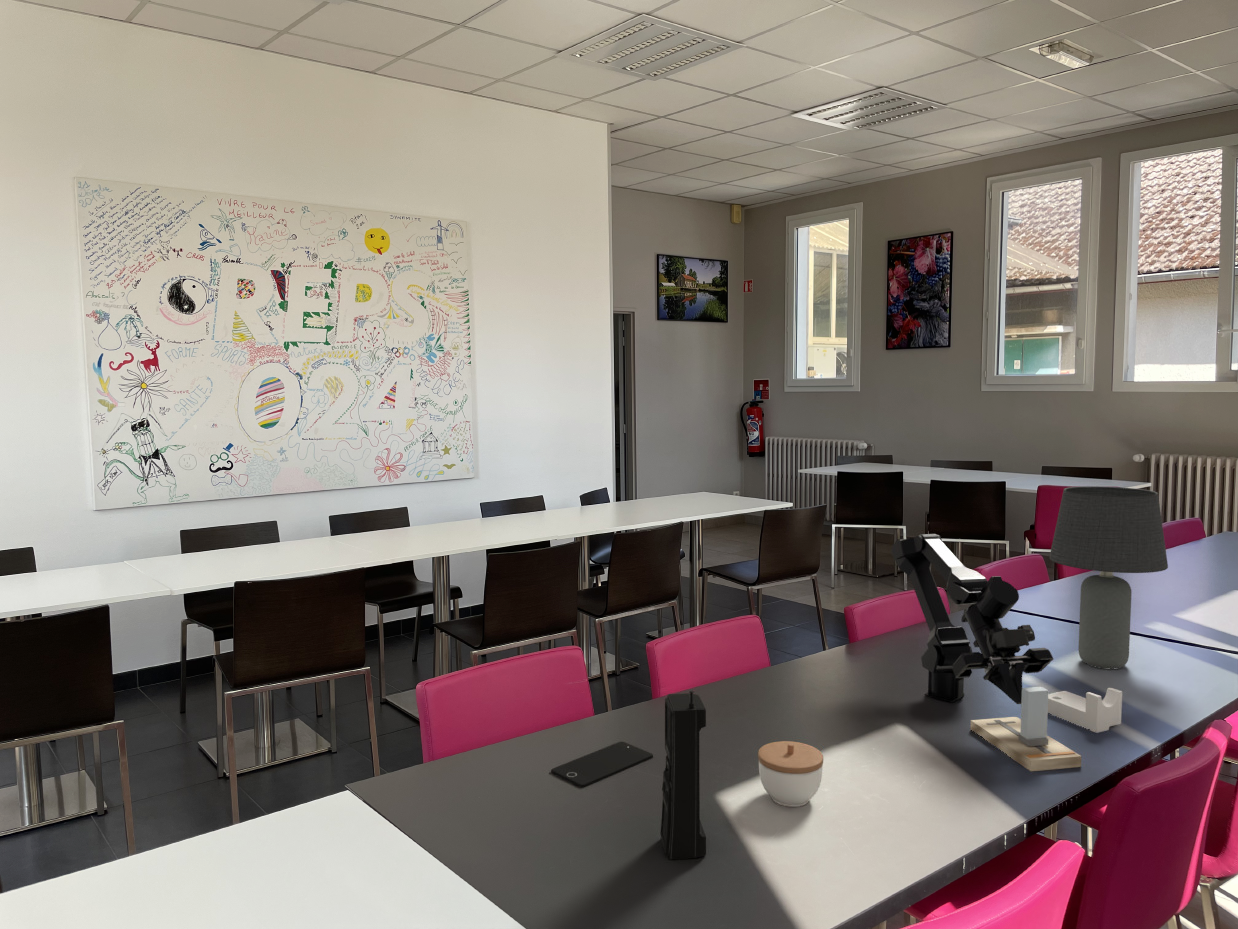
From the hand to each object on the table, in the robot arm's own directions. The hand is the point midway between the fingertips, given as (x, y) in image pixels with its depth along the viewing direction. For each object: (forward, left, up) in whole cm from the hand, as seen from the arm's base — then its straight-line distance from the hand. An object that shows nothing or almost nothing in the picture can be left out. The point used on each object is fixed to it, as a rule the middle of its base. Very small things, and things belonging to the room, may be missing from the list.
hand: (1020, 703), depth 164 cm
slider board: (+1, -1, -8) cm, 8 cm away
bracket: (+4, +22, -9) cm, 24 cm away
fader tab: (+3, -2, -6) cm, 7 cm away
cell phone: (-51, -62, -9) cm, 80 cm away
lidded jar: (-19, -49, -8) cm, 53 cm away
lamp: (-4, +63, -8) cm, 64 cm away
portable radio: (-22, -73, -8) cm, 76 cm away
